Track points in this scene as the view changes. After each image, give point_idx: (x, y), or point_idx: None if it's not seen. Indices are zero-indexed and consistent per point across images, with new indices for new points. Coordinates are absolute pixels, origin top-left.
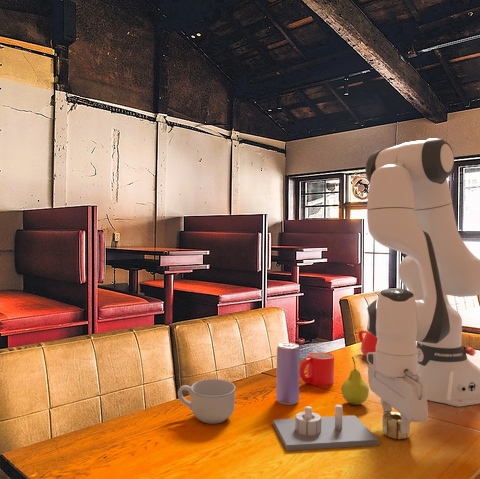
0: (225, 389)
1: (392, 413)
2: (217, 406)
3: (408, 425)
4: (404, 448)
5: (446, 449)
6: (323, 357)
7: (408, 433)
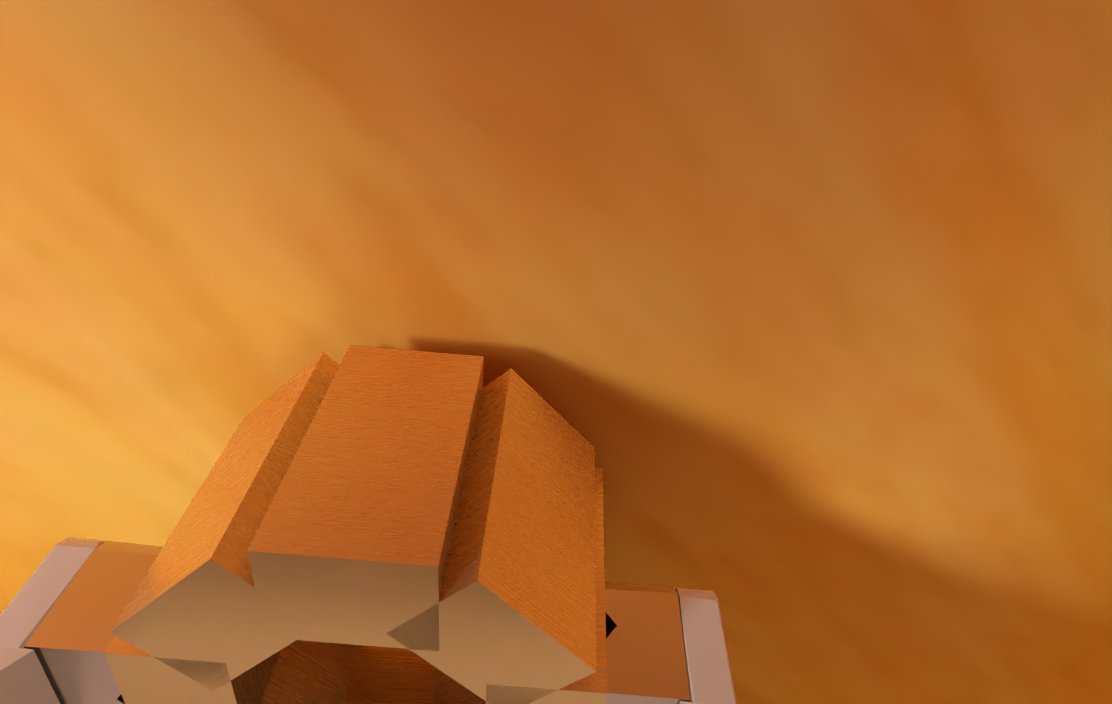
0: None
1: (188, 700)
2: None
3: (732, 701)
4: (771, 549)
5: (1106, 18)
6: None
7: (552, 436)
